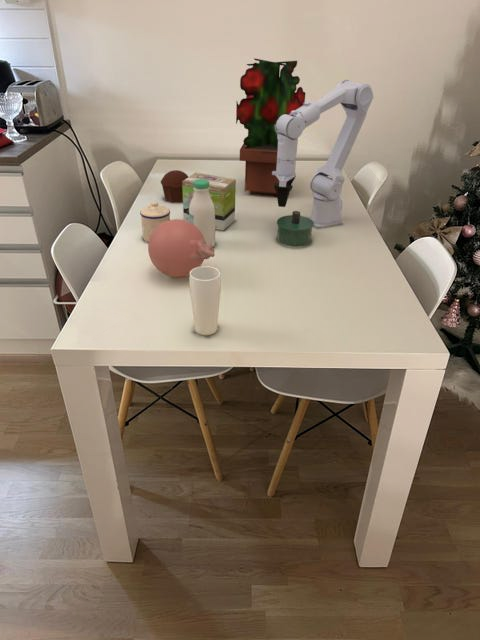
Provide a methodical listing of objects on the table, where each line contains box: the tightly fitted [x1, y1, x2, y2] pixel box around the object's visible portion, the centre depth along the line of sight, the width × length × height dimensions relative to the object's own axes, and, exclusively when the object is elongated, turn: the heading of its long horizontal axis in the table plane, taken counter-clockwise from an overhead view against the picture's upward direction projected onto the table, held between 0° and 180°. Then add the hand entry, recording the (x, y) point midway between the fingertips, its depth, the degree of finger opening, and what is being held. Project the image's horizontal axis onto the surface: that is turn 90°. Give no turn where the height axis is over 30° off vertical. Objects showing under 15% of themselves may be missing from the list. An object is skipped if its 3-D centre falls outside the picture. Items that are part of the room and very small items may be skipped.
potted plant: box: [235, 58, 306, 197], centre depth 180 cm, size 22×22×45 cm
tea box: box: [182, 172, 237, 232], centre depth 162 cm, size 15×10×15 cm
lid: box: [276, 210, 315, 231], centre depth 151 cm, size 11×11×4 cm
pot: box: [276, 225, 313, 248], centre depth 153 cm, size 10×10×6 cm
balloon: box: [147, 218, 215, 278], centre depth 130 cm, size 15×20×15 cm
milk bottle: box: [189, 179, 216, 248], centre depth 145 cm, size 8×8×20 cm
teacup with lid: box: [139, 201, 171, 243], centre depth 152 cm, size 12×9×12 cm
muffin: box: [160, 169, 189, 204], centre depth 181 cm, size 12×11×10 cm
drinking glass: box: [188, 265, 222, 336], centre depth 110 cm, size 7×7×15 cm
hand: (283, 202), depth 154 cm, fingers open, 7 cm apart
